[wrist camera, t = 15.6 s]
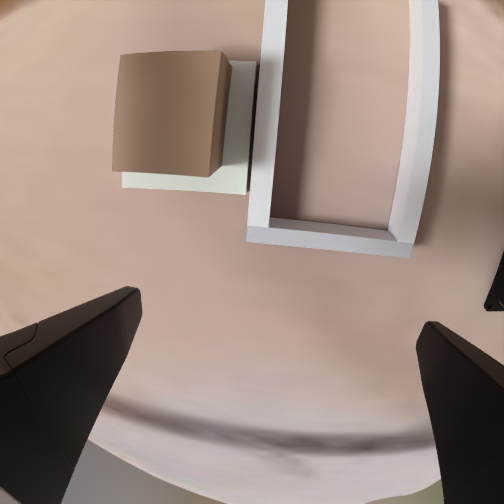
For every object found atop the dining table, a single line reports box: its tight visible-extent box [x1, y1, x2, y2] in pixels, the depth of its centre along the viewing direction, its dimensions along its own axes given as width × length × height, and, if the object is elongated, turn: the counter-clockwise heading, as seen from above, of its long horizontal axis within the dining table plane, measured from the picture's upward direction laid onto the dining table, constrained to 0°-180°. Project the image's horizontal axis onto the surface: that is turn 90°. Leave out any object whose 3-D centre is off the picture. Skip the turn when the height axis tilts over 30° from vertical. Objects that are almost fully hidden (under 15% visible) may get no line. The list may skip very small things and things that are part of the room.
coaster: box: [122, 60, 257, 195], centre depth 17 cm, size 8×8×1 cm
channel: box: [246, 0, 440, 258], centre depth 15 cm, size 10×18×2 cm, turn 176°
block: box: [112, 51, 232, 178], centre depth 15 cm, size 5×6×4 cm
